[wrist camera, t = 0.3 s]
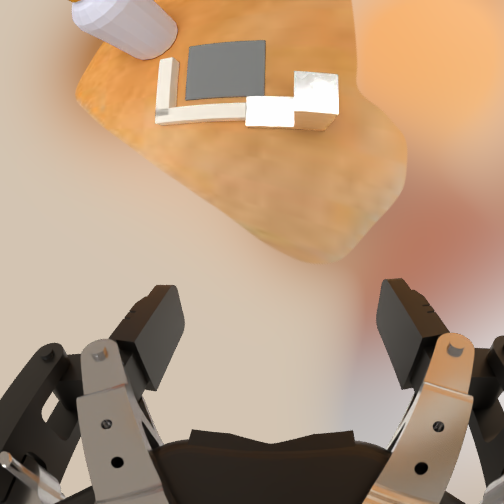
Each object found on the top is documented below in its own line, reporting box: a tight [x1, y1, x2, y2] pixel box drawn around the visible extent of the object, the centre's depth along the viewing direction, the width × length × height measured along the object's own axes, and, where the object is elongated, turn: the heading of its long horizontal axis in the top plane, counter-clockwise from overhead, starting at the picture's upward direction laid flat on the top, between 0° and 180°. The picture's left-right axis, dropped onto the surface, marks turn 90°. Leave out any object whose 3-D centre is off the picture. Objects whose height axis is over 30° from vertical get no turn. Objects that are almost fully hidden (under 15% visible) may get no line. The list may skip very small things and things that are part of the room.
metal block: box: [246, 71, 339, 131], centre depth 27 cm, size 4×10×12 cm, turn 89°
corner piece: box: [155, 57, 246, 125], centre depth 32 cm, size 10×12×2 cm
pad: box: [185, 40, 265, 100], centre depth 31 cm, size 9×11×1 cm
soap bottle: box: [69, 0, 178, 60], centre depth 20 cm, size 9×9×24 cm
